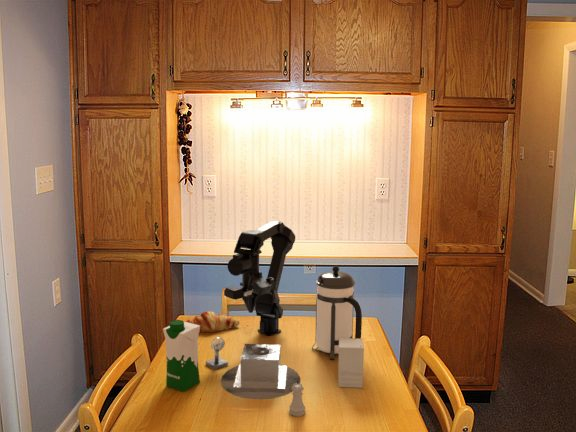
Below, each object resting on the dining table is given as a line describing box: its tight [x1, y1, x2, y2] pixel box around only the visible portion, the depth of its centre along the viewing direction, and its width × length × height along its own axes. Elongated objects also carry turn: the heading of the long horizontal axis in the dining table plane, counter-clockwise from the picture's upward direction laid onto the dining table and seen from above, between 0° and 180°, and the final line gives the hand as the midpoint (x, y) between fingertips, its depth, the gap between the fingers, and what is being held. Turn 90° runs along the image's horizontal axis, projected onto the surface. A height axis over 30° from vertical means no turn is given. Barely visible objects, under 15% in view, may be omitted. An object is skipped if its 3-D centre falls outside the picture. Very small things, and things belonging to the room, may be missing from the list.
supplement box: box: [337, 337, 365, 389], centre depth 165 cm, size 7×7×13 cm
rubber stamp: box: [205, 336, 229, 371], centre depth 176 cm, size 5×5×10 cm
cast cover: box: [233, 343, 288, 393], centre depth 166 cm, size 15×15×9 cm
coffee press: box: [311, 265, 363, 361], centre depth 185 cm, size 17×16×30 cm
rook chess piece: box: [288, 382, 306, 417], centre depth 148 cm, size 4×4×8 cm
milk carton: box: [162, 319, 201, 393], centre depth 162 cm, size 9×9×20 cm
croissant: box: [185, 311, 240, 333], centre depth 207 cm, size 21×10×8 cm, turn 101°
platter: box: [220, 363, 301, 400], centre depth 167 cm, size 24×24×1 cm
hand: (250, 312), depth 190 cm, fingers closed
